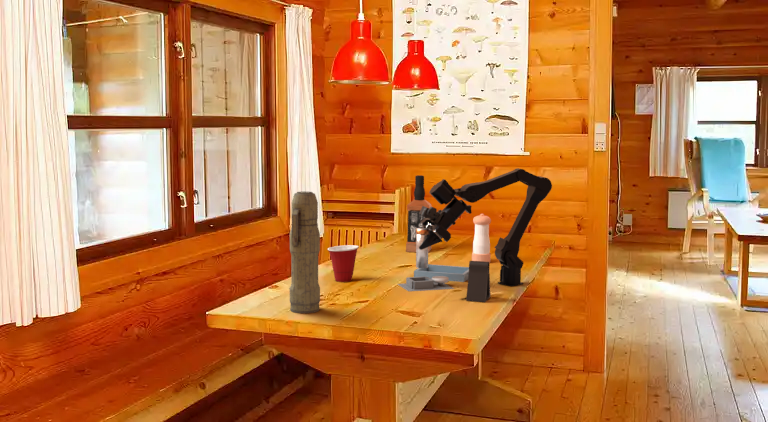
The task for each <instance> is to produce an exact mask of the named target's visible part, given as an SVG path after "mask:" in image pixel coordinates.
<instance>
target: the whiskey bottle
mask: <svg viewBox="0 0 768 422" xmlns="http://www.w3.org/2000/svg"><path fill="white" fill-rule="evenodd" d="M414 178H415V180H414V182H415V183H414V184H415V185H414V186H415V187H414V191H413V196H414V197H413V199H412V200H411V202H409V203H408V204H406V210H407V235H406V236H407V238H406V240H407V241H406V243H405V244H406V245H405V252H407V253H416V228H423V227H422V224H421V221H422V220H423V219H424V218H428V217H424V216H422V215H420V214H419V213H420V210H421V208H422V206H425V207H427V208H430V207H432V204H431V203H430V202H429V201H427V200H426V199H425V196H426V191H425V176H424V175H420V174H419V175H415V177H414ZM428 219H430V218H428ZM431 250H432V246H429V247H428V253H430V251H431Z"/></svg>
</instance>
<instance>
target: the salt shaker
mask: <svg viewBox="0 0 768 422" xmlns="http://www.w3.org/2000/svg"><path fill="white" fill-rule="evenodd" d="M427 235H428V228H416V252H415V267H416V269H418V268H428V264H429V252H428V247H427V248H424V249H422V250H420V249H419V246H420V245H421V243H422V242H423V241H424V239H425V238H426V237H427Z"/></svg>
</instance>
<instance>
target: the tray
mask: <svg viewBox="0 0 768 422" xmlns="http://www.w3.org/2000/svg"><path fill="white" fill-rule="evenodd" d="M434 276H445V277H448V278H449V282H461V283H464V282H466V281H468V276H469V266H460V265H459V266H456V265H455V266H454V265H443V264H429V263H428V268H416V269H415V270H414V271H413V277H429V278H430V279H432V277H434Z"/></svg>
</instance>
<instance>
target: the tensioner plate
mask: <svg viewBox="0 0 768 422" xmlns="http://www.w3.org/2000/svg"><path fill="white" fill-rule="evenodd" d="M405 279H406V281H405V283H397V285H398V286H399V287H401V288H403V289H404V290H406V291H407V292H422V291H424V292H425V291H436V290H437V291H440V290H443V291H444V290H455V288H454V287H453V286H451V285H448V284H446V283H449V282H450V281H449V278H448V277H445V276H434V277H432V279H430V278H429V277H414V276H412V277H411V276H410V277H408V276H407V277H406V278H405Z"/></svg>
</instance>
